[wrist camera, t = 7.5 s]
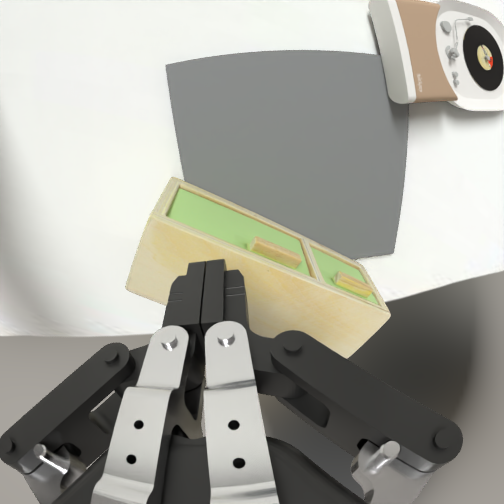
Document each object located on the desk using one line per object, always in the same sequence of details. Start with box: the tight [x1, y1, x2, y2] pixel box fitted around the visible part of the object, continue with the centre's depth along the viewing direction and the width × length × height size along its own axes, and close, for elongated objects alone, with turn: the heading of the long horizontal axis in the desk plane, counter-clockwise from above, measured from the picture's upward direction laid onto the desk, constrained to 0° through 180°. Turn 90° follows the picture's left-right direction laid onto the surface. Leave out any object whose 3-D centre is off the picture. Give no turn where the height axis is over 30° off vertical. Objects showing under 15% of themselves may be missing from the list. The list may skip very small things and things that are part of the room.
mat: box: [166, 50, 409, 259], centre depth 24 cm, size 20×20×1 cm
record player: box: [368, 0, 504, 111], centre depth 16 cm, size 12×3×20 cm
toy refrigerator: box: [125, 177, 391, 358], centre depth 24 cm, size 8×7×21 cm
